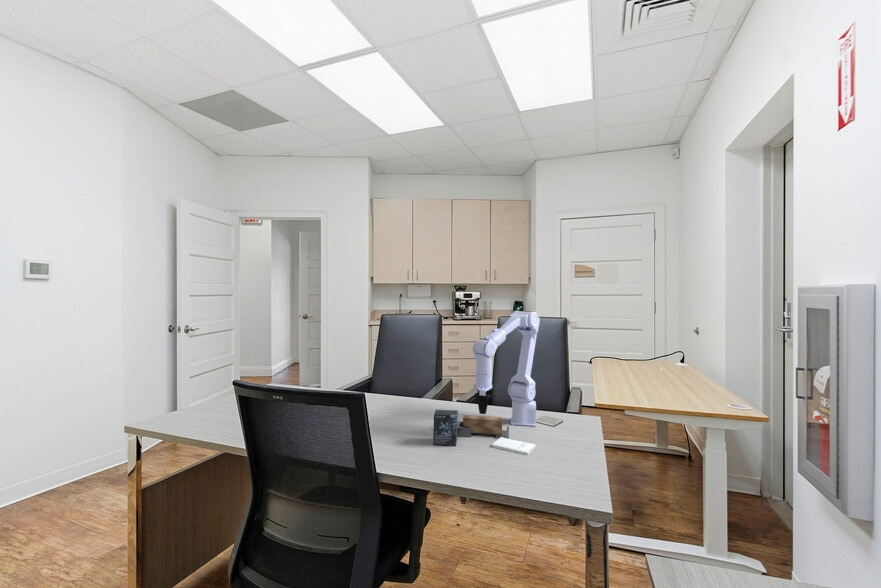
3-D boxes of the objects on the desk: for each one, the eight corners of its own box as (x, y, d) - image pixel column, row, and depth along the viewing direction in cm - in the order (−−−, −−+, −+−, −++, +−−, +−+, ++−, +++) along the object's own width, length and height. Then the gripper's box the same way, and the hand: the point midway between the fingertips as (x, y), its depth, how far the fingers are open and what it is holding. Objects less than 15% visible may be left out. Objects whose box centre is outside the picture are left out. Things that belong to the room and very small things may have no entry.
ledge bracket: (508, 433, 151) (508, 426, 151) (508, 439, 145) (508, 432, 145) (496, 432, 152) (496, 425, 152) (495, 438, 146) (495, 431, 146)
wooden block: (502, 431, 150) (502, 417, 150) (501, 434, 147) (502, 420, 147) (463, 428, 152) (464, 415, 152) (462, 431, 149) (462, 417, 149)
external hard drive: (501, 441, 145) (535, 448, 138) (491, 449, 138) (527, 456, 131) (501, 436, 145) (535, 443, 138) (491, 444, 138) (527, 451, 131)
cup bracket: (472, 430, 154) (472, 422, 154) (470, 437, 147) (471, 428, 146) (458, 429, 155) (458, 421, 155) (455, 435, 147) (455, 427, 147)
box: (433, 445, 138) (433, 413, 138) (434, 439, 144) (435, 409, 144) (456, 446, 137) (457, 414, 137) (457, 440, 143) (457, 410, 143)
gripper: (474, 368, 157) (474, 404, 157) (471, 376, 143) (470, 415, 143) (493, 369, 156) (492, 405, 156) (491, 377, 142) (490, 417, 142)
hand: (483, 410), depth 150 cm, fingers open, 7 cm apart
